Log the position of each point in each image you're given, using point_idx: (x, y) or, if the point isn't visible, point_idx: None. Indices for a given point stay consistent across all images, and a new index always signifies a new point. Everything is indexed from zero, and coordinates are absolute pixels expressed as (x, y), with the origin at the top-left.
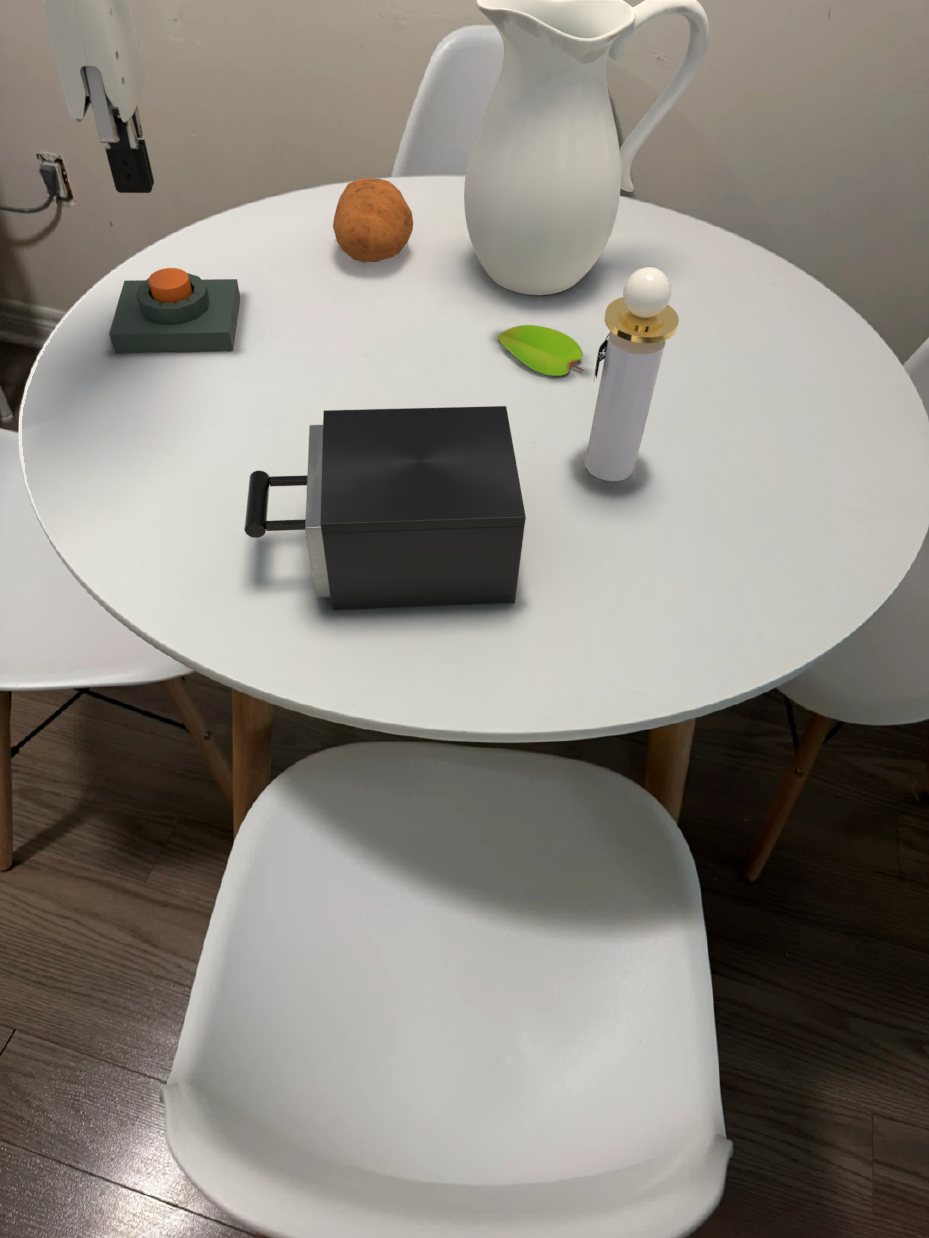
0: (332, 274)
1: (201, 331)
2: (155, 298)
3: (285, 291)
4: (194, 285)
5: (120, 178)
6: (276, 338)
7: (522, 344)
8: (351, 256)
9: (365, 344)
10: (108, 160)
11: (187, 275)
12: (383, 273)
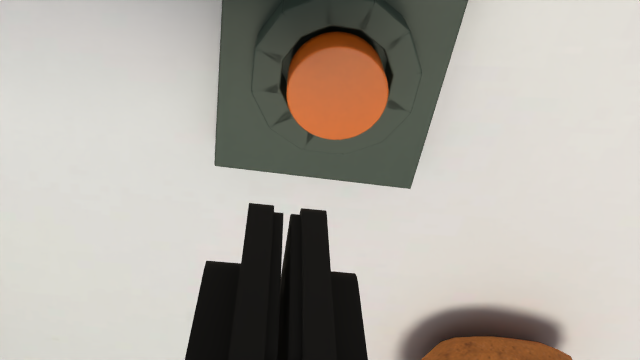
0: (433, 300)
1: (220, 116)
2: (309, 42)
3: (402, 235)
4: None
5: (204, 279)
6: None
7: None
8: (434, 348)
9: None
10: (238, 302)
11: (340, 138)
12: (412, 356)
